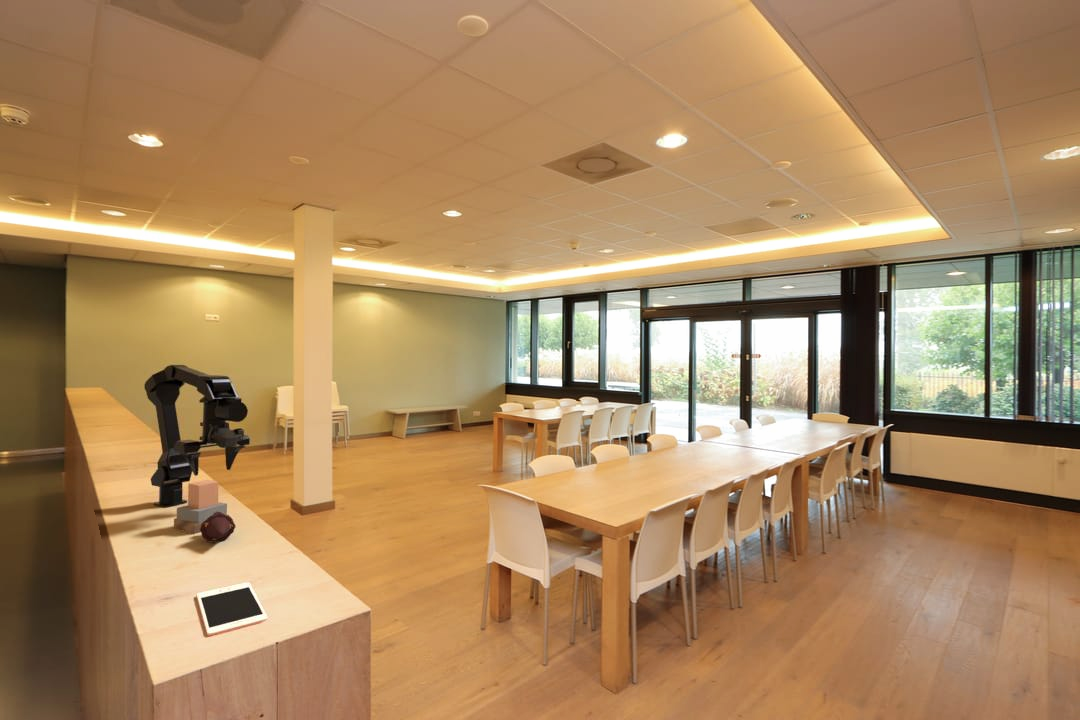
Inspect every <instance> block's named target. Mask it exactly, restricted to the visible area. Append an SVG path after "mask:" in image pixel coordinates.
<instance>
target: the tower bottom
mask: <svg viewBox="0 0 1080 720" xmlns="http://www.w3.org/2000/svg"><path fill="white" fill-rule="evenodd" d="M227 516H230V514H227ZM202 523H203V522H201V523H195V522H189V521H183V520H177V517H176V518H173V529H174V528H175V530H178V529H179V531H182V530H183V531H182V532H185V531H186V533H188V534H189V533H190V534H193V535H195V534H199V533H200V534H201V531H200V528H201V524H202Z"/></svg>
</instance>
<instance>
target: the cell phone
mask: <svg viewBox="0 0 1080 720" xmlns="http://www.w3.org/2000/svg"><path fill="white" fill-rule="evenodd" d="M196 601H197V605H198V608H199V612H200V615H201V618H202V623H203V625H204V629H205V633H206V637H213V635H214V636H217V635H221V634H224V633H228V632H231V631H235V630H236V631H237V630H239V629H243V628H246V627H250V626H254V625H259V624H261V622H262V623H264V622H263V621H265V620H267V621H268V615H267V614H266V611H265V610H264V607H263V606H262V604H261V602H260V600H259V598H258V596H257V594H256V592H255V590H254V588H253V587H252V585H251V582H249V581H248V582H243V583H238V584H233V585H230V586H223V587H219V588H214V589H211V590H206V591H200V592H198V593H197V594H196ZM265 622H266V621H265Z"/></svg>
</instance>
